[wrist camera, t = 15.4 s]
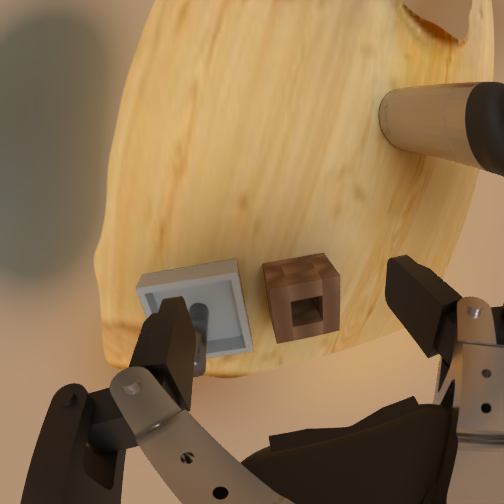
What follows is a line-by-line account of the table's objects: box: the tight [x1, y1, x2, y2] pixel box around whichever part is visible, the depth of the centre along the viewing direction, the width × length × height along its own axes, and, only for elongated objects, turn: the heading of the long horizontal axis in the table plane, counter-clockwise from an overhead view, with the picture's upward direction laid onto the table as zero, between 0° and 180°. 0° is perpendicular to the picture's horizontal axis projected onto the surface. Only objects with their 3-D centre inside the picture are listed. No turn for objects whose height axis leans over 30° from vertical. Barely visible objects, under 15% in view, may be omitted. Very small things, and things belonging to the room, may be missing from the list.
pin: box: [189, 303, 209, 377], centre depth 37 cm, size 3×3×12 cm
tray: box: [136, 259, 253, 358], centre depth 42 cm, size 14×14×4 cm
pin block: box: [263, 253, 340, 344], centre depth 40 cm, size 9×9×7 cm
